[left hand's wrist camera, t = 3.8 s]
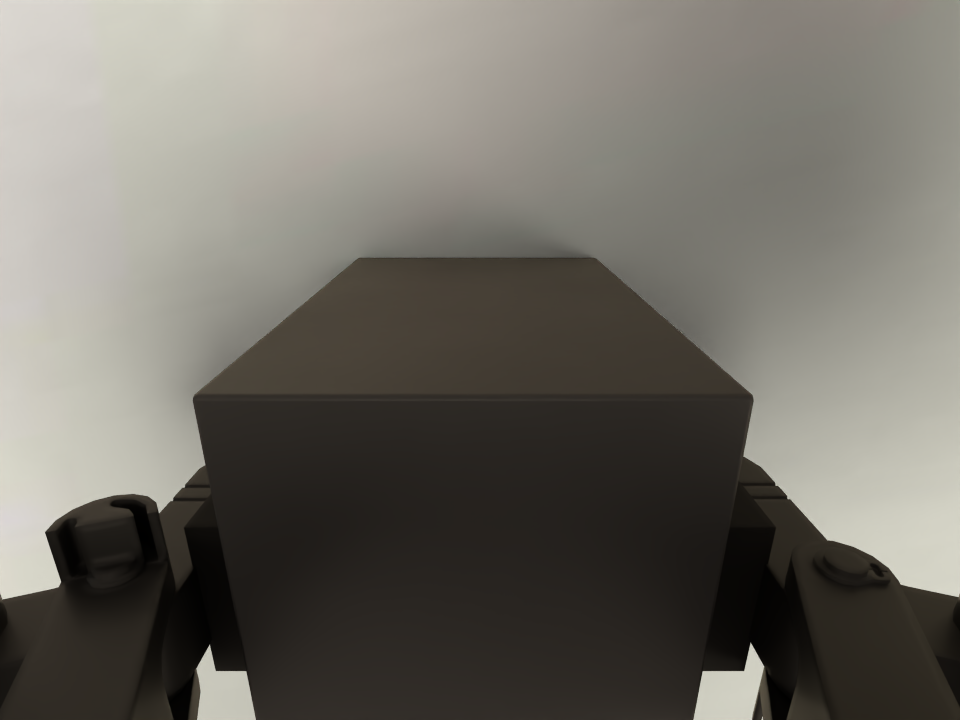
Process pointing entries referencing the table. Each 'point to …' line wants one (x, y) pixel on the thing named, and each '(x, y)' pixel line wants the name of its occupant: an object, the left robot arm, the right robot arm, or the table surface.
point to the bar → (474, 496)
